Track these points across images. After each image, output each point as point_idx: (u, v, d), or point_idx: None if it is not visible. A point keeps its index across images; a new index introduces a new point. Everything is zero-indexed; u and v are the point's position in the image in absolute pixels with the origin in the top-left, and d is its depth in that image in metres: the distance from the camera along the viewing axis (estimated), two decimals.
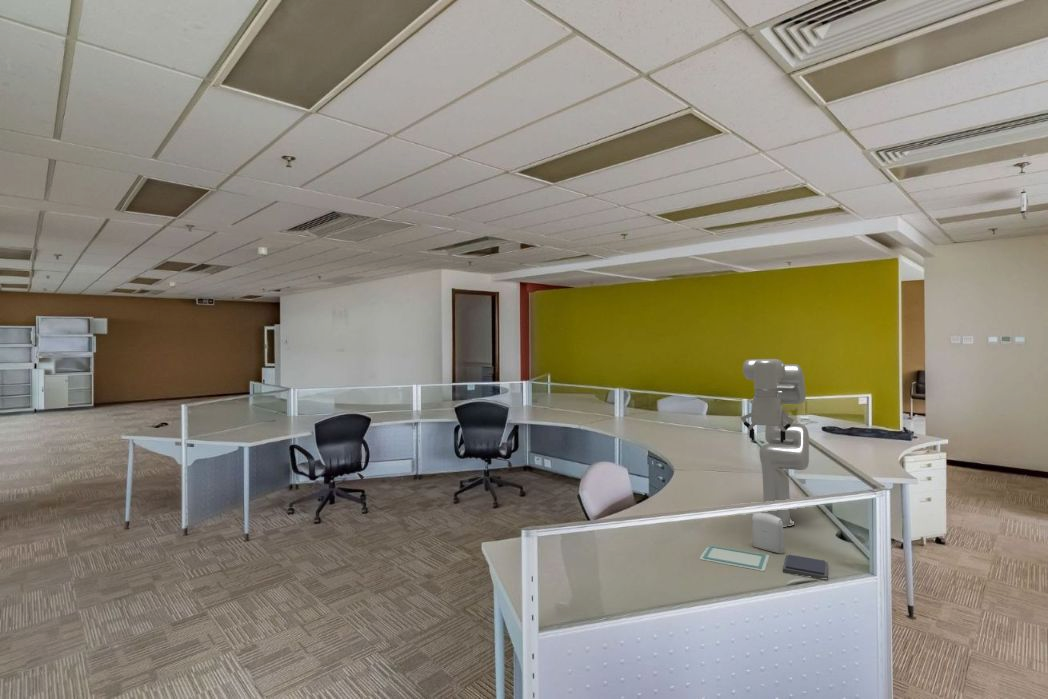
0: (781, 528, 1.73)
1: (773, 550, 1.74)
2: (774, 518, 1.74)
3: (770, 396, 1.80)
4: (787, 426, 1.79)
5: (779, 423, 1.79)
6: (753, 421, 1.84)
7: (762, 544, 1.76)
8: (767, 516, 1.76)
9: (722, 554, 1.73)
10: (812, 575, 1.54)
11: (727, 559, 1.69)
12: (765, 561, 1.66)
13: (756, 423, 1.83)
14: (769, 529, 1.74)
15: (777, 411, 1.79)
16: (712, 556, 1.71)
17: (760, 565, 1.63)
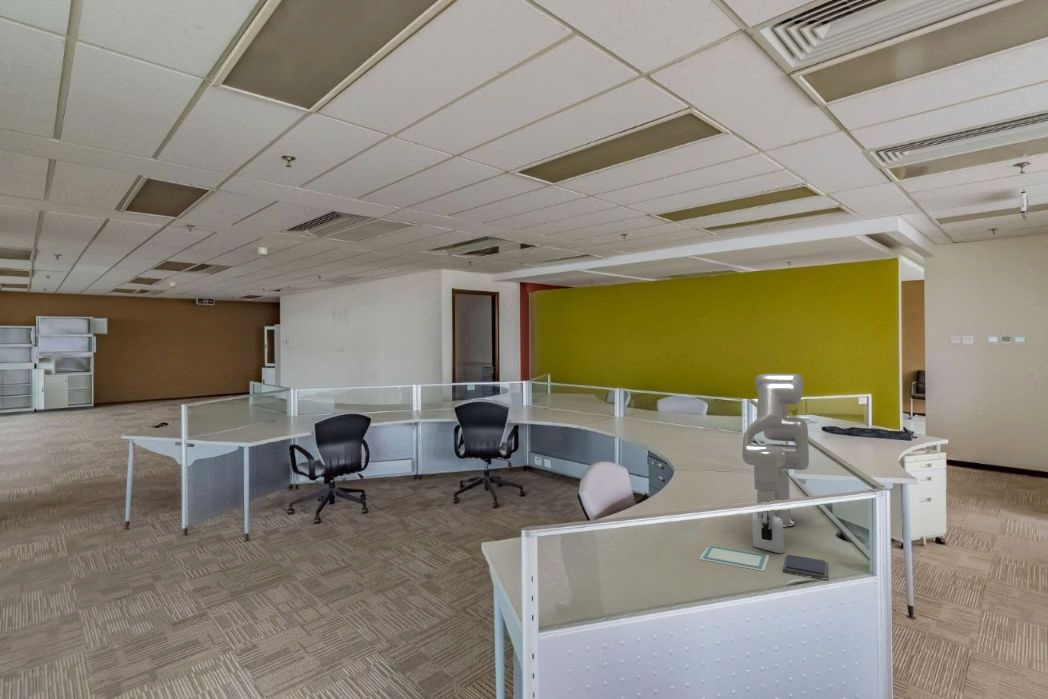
0: (781, 528, 1.73)
1: (772, 550, 1.74)
2: (774, 518, 1.74)
3: None
4: None
5: None
6: (772, 517, 1.72)
7: (762, 544, 1.76)
8: None
9: (722, 554, 1.73)
10: (812, 575, 1.54)
11: (727, 559, 1.69)
12: (765, 561, 1.66)
13: (772, 518, 1.73)
14: None
15: None
16: (712, 556, 1.71)
17: (760, 565, 1.63)
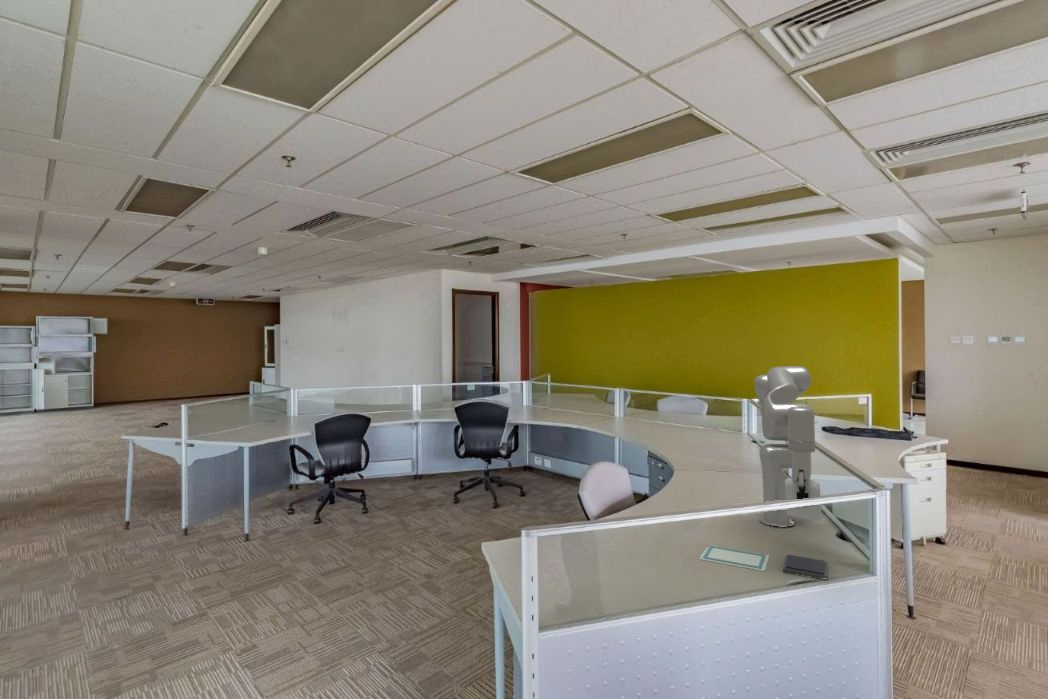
0: (819, 492, 1.57)
1: (810, 517, 1.57)
2: (811, 482, 1.58)
3: None
4: None
5: None
6: (809, 480, 1.56)
7: (797, 511, 1.60)
8: None
9: (722, 554, 1.73)
10: (812, 575, 1.54)
11: (727, 559, 1.69)
12: (765, 561, 1.66)
13: None
14: None
15: None
16: (712, 556, 1.71)
17: (760, 565, 1.63)
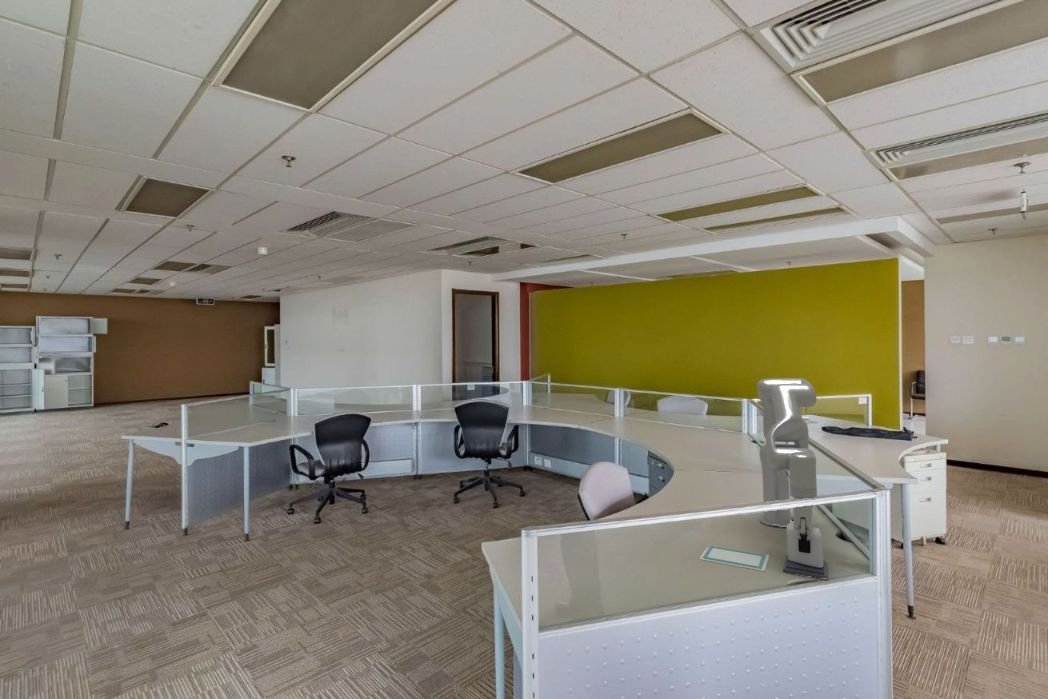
0: (821, 540, 1.57)
1: (811, 564, 1.57)
2: (812, 529, 1.58)
3: None
4: None
5: None
6: (810, 528, 1.56)
7: (799, 558, 1.60)
8: None
9: (722, 554, 1.73)
10: (812, 575, 1.54)
11: (727, 559, 1.69)
12: (765, 561, 1.66)
13: (810, 529, 1.57)
14: None
15: None
16: (712, 556, 1.71)
17: (760, 565, 1.63)
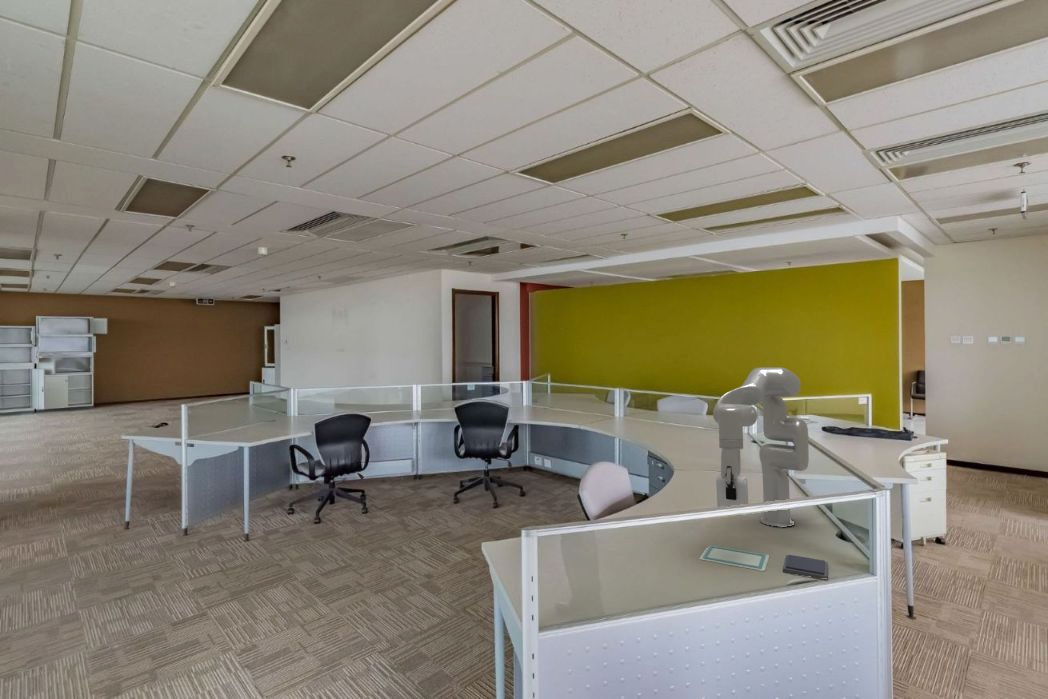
0: (746, 487, 1.67)
1: None
2: (739, 477, 1.68)
3: None
4: None
5: None
6: (736, 476, 1.66)
7: (727, 505, 1.70)
8: (731, 476, 1.69)
9: (722, 554, 1.73)
10: (812, 575, 1.54)
11: (727, 559, 1.69)
12: (765, 561, 1.66)
13: (736, 477, 1.67)
14: None
15: None
16: (712, 556, 1.71)
17: (760, 565, 1.63)
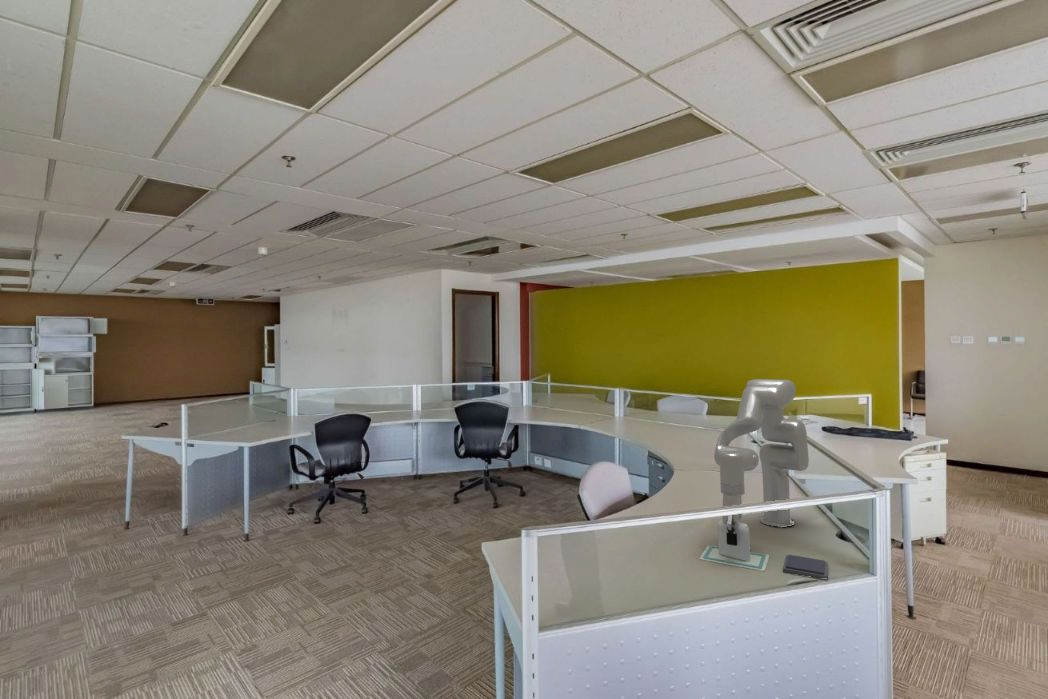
0: (748, 534, 1.67)
1: (739, 558, 1.68)
2: (740, 524, 1.68)
3: None
4: None
5: None
6: (737, 522, 1.66)
7: (729, 552, 1.70)
8: (733, 522, 1.70)
9: None
10: (812, 575, 1.54)
11: (727, 559, 1.69)
12: (765, 561, 1.66)
13: (737, 523, 1.67)
14: None
15: None
16: (712, 556, 1.71)
17: (760, 565, 1.63)
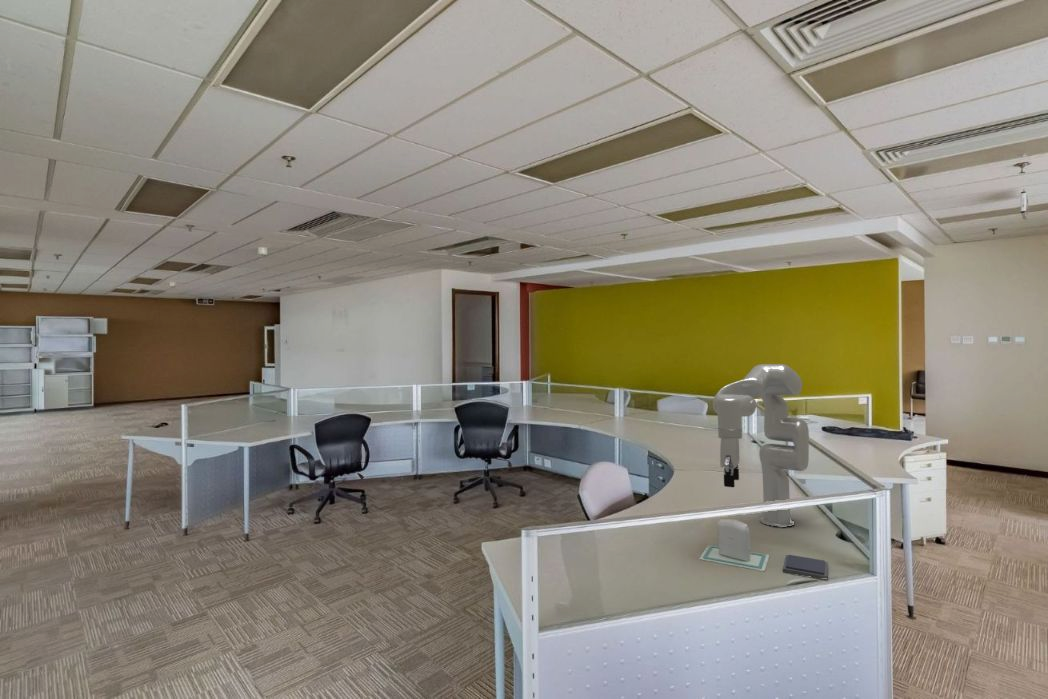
0: (748, 534, 1.67)
1: (739, 558, 1.68)
2: (740, 524, 1.68)
3: None
4: None
5: None
6: (735, 465, 1.68)
7: (729, 552, 1.70)
8: (733, 522, 1.70)
9: None
10: (812, 575, 1.54)
11: (727, 559, 1.69)
12: (765, 561, 1.66)
13: (735, 466, 1.69)
14: (735, 536, 1.68)
15: None
16: (712, 556, 1.71)
17: (760, 565, 1.63)
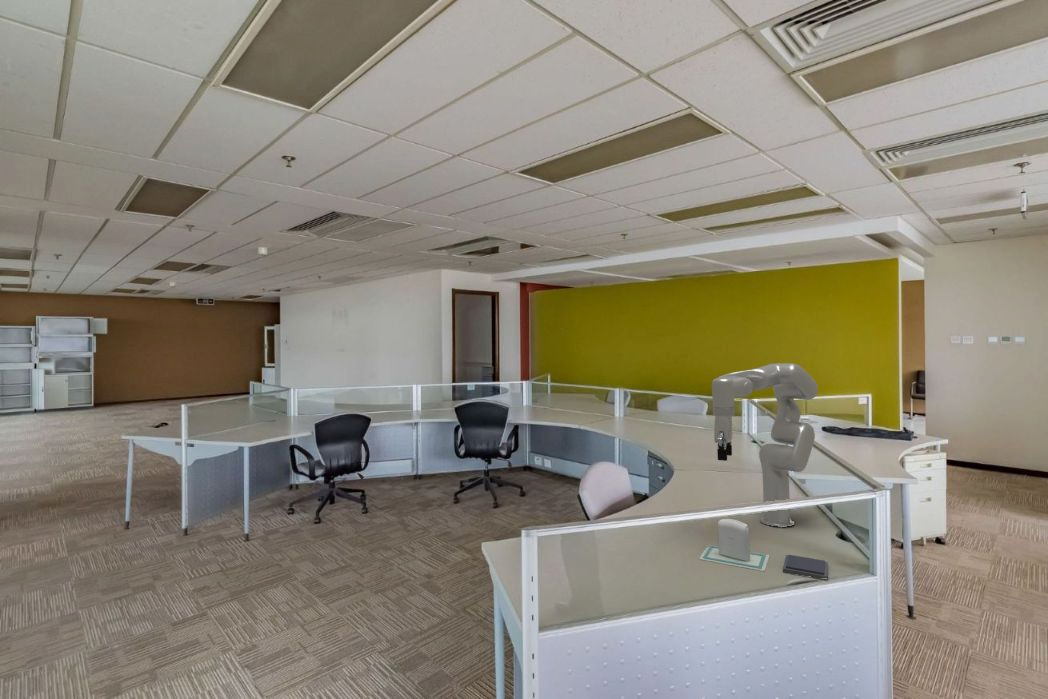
0: (748, 534, 1.67)
1: (739, 558, 1.68)
2: (740, 524, 1.68)
3: None
4: None
5: None
6: (728, 440, 1.82)
7: (729, 552, 1.70)
8: (733, 522, 1.70)
9: None
10: (812, 575, 1.54)
11: (727, 559, 1.69)
12: (765, 561, 1.66)
13: (728, 441, 1.83)
14: (735, 536, 1.68)
15: None
16: (712, 556, 1.71)
17: (760, 565, 1.63)
